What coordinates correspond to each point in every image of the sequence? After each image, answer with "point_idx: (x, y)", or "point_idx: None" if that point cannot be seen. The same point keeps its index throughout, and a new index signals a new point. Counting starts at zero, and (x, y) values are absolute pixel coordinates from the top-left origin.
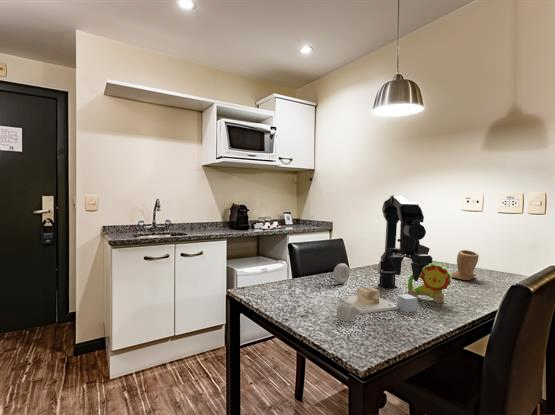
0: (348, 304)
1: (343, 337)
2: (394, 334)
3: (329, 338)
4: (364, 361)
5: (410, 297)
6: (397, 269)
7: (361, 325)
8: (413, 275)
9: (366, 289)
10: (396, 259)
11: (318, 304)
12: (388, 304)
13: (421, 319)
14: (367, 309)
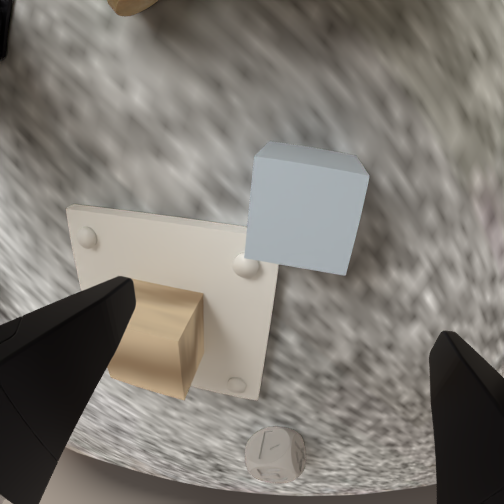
0: (273, 472)
1: (361, 473)
2: None
3: (347, 484)
4: None
5: (335, 216)
6: (98, 361)
7: (339, 435)
8: (442, 431)
9: (144, 373)
10: (12, 468)
11: (145, 417)
12: (242, 276)
13: (443, 245)
14: (254, 380)
